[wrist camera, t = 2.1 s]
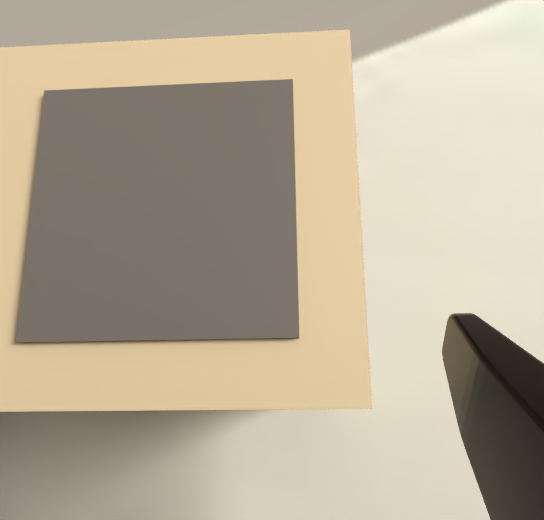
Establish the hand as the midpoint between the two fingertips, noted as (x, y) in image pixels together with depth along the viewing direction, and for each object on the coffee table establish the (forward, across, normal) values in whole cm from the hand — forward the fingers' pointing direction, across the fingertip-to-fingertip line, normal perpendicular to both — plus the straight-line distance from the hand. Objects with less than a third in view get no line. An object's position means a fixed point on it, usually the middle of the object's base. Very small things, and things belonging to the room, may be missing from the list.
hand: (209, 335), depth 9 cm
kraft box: (+7, 0, +6) cm, 9 cm away
